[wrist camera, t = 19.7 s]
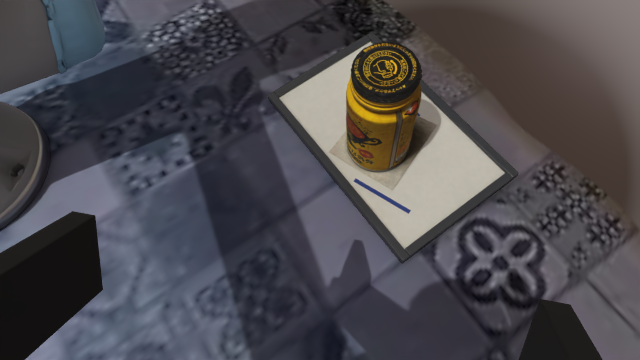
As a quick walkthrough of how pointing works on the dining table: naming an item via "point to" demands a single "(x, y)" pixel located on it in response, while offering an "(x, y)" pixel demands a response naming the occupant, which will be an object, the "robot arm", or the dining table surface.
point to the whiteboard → (420, 177)
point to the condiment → (383, 113)
